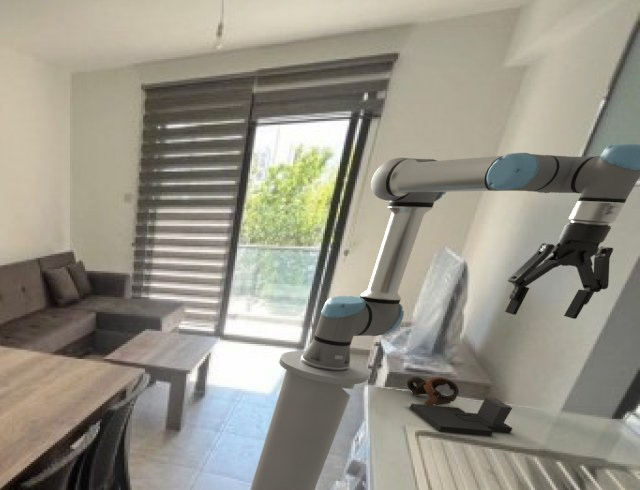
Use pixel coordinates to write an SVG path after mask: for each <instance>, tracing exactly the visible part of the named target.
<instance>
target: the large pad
mask: <svg viewBox="0 0 640 490" xmlns="http://www.w3.org/2000/svg"><path fill="white" fill-rule="evenodd" d="M409 410H411V411H412V412H413V413H414V414H416V415H417V416H419V417H420V418H421V419H422V420H423V421H425V422H426V423H427V424H428V425H430V426H432V427H433V428H434V429H435V430H437V431H438V432H441V433H450V434H462V435H473V436H483V437H484V436H485V437H492V435H493V433H495V432H494V431H493V430H491V429H490V428H488V427H487V426H485V425H484V424H482V423H481V422H471V421H463V420H462V419H460V418H459V417H457V415H464V416H470V415H469V414H467V413H468V412H466V411H465V410H463V409H461V408H460V407H455V406H445V405H444V406H443V405H435V404H434V405H426V404H422V403H411V404H410V406H409Z"/></svg>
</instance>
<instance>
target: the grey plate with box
mask: <svg viewBox="0 0 640 490" xmlns="http://www.w3.org/2000/svg"><path fill="white" fill-rule="evenodd" d="M511 410H513V407H512V406H509V405H508V404H506V403H505V402H503V401H501V400H500V399H498V398H495V397H485V398H484V400H483V402H482V404H481V406H480V408H479V409H478V411H477V413H476V412H466V413H467V414H469V415H470V416H464V415H457V417H459V418H460V419H462V420H463V421H471V422H481V423H482V424H484V425H485V426H487V427H488V428H490V429H491V430H493V431H494V432H493V433H501V434H511V433H512V431H513V427H512V426H510V425H508V424H507V423H505V422H506V420H507V419H508V417H509V415H510V413H511Z"/></svg>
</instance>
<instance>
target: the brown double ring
mask: <svg viewBox="0 0 640 490" xmlns="http://www.w3.org/2000/svg"><path fill="white" fill-rule="evenodd" d="M415 384H416V385H415ZM406 385H407V388H408V389H409V390H410V391H411V394H412V396H419V395H426V396H428V399H427V400H425V401H424V405H434V406H443V405H448V404H451V403H453V402H455V400H456V399H457V397H458V395H459V391H460V390H459V387H458V385H457V384H456V383H455V382H453V380H450V379H448V378H445V377H442V376H441V377H440V376H435V377H432V378H431V379H423V378H421V377H419V376H411V377H409V378H407V381H406ZM445 385H448V387H449V389H450V390H451V391H453V393H452V394H449V395H448V394H447V395H446V394H442V392H440V391H439V390H438V389H436V388H438V387H439V386H445Z"/></svg>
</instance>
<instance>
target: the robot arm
mask: <svg viewBox="0 0 640 490" xmlns="http://www.w3.org/2000/svg"><path fill="white" fill-rule="evenodd" d="M639 179H640V144H636V143H635V144H634V143H631V144H629V143H625V144H611V145H609V146H607V147H605V148H604V150H603V151H602V153H600V155H597V156H596V155H595V156H566V155H551V154H550V155H549V154H538V153H537V154H534V153H529V152H515V153H508V154H505V155H496V156H483V157H472V158H471V157H470V158H457V159H445V160H444V159H443V160H437V159H434V158H408V157H397V158H392V159H390V160H387V161H386V162H384V163H383V164H381V165H380V166H379V167H378V168H377V169H376V170H375V172H374V173H373V175H372V178H371V182H370V188H371V191H372V193H373V195H374V196H375V197H377V198H378V199H380V200H383V201H388V206H387V209H388V211H390V214H391V215H390V218H389V221H388V224H387V227H386V229H385V234H384V237H383V240H382V242H381V247H380V250H379V252H378V256H377V258H376V263H375V266H374V268H373V272H372V275H371V278H370V281H369V284H368V287H367V289H366V290H365V291H364V292H362V293H361V294H360V296H353V295H349V296H347V295H339V296H332V297H330V298H328V299H326V301H325V302H324V304H323V308H322V309H321V312H320V315H319V319H318V322H317V326H316V329H315V332H314V335H313V338H312V340H311V342H310V343H309V345H308V346H307V347H306V349H305V350H304V351H305V352H304V353H303V355H302V357H301V361H302V362H303V363H304V364H306V365H308V366H311V367H314V368H317V369H321V370H327V371H345V370H347V369H348V368H349V364H350V360H351V344H352V341H353V339H354V337H365V336H366V337H367V336H369V337H370V336H371V337H379V336H384V335H388V334H390V333H392V332H394V331H395V330H396V329H397V328H398V327H399V326H400V325H401V323H402V321H403V319H404V316H405V315H404V314H405V313H404V312H405V311H404V307H403V305H402V304H401V303H400V302H401V300H402V297H401V296H400V295H399V289H400V286H401V283H402V280H403V277H404V275H405V272H406V268H407V265H408V263H409V260H410V257H411V254H412V251H413V249H414V245H415V242H416V239H417V236H418V234H419V230H420V228H421V225H422V223H423V219H424V216H425V214H427V213H428V212H429V211H432V209H433V208H434V204H435V202H437V201H439V200H440V199H441V198H442V197H443V196H444V195H446V193H447V192H448V193H449V192H451V193H452V192H535V193H540V194H541V193H544V194H550V193H552V194H553V193H556V194H580V195H579V198H578V200H577V202H576V204H575V205H574V207H573V209H572V211H571V212H570V215H569V216H568V221H570V222H567V223H566V224H564V227H563V229H562V231H561V233H560V234H559V236H558V242H557V244H556V245H555V244H552V243H545V242H543V243H541V244H540V245H539V247H538V249H537V250H536V252H535V253H534V254H533V255H531V257H530V258H529V259H527V261H526V262H525V263H523V265H522V266H520V267H519V268H518V269H517V270H516V271H515V272H514V273H513V274H512V275H511V276H510V277H508V279H507V281H508V283H510V284H512V285H514V287H513V288H512V291H511V293H510V294H509V300H510V301H509V302H508V305H507V307H506V309H505V311H504V313H507V314H510V315H517V313H518V311H519V309H520V308H521V306H522V304H523V302H524V300H525V298H526V296H527V294H528V293H529V290H530V287H529V286H530V284H532V283H533V282H535V281H537V279H539V278H541V277H542V276H544V275H545V274H548V273H549V272H550V271H551V270H553V269H554V268H558V267H560V266H562V267H568V266H569V267H570V266H571V267H575V268H576V270H577V273H578V277H579V279H580V282H581V285H582V287H583V288H582V289H577V291H576V294H575V295H574V297H573V299H572V300H571V303H570V304H569V306H568V308H567V309H566V311H565V313H564V314H563V316H564V317H566V318H570V319H574V320H575V319H577V318H578V316H579V315H580V313H581V312H582V309H583V308H584V307H585V306H586V305H587V304H589V302H590V300H591V299H592V298H593V295H594V293H599V292H601V290H607V289H608V287H609V283H610V280H609V279H610V278H609V277H610V262H611V261H610V258H611V257H612V254H613V251H614V248H613V247H609V246H600V245H601V243H604V242H605V240H606V238H607V236H608V234H609V233H610V231H611V230H612V226H611V225H610V224H612V223H615V222H616V220H617V218H618V216H619V215H620V213H621V211H622V209H623V208H624V206H625V203H626V202H627V200H628V198H629V196H630V194H631V193H632V191H633V190H634V187H635V185H636V184H637V182H638V181H639ZM551 254H552V255H551ZM550 255H551V256H550ZM593 256H594V258H593V260H592V257H593ZM592 266H593V267H592ZM527 286H528V287H527Z"/></svg>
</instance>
